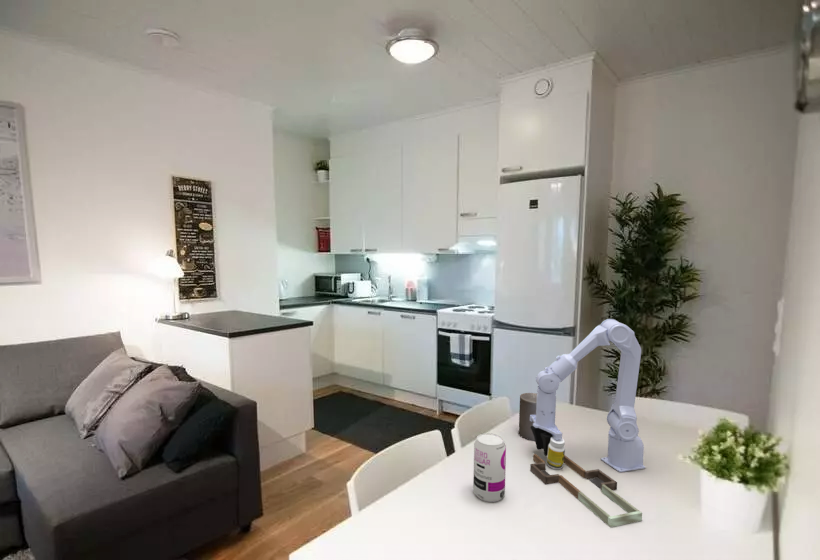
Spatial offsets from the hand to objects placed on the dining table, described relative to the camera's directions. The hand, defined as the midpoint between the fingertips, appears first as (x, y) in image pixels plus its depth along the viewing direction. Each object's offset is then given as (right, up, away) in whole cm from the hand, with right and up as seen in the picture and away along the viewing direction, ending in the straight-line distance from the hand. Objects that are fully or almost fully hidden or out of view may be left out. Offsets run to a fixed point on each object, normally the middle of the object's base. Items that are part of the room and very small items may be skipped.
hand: (544, 452), depth 128 cm
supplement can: (-21, -3, -20) cm, 29 cm away
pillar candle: (+1, -1, +16) cm, 16 cm away
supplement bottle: (+2, -2, -5) cm, 5 cm away
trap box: (+5, -3, -16) cm, 17 cm away
